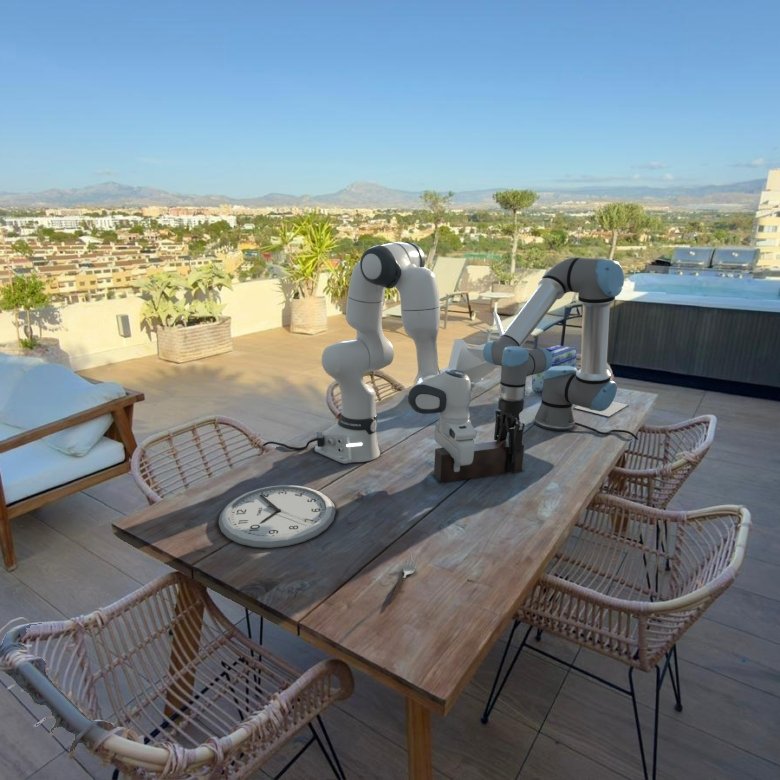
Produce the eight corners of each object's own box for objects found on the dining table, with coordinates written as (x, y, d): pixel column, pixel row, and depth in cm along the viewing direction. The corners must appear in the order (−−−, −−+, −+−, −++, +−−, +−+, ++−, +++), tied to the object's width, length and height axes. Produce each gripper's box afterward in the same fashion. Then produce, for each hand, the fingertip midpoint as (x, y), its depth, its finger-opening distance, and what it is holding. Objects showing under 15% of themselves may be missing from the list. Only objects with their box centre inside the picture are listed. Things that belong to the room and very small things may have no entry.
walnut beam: (513, 464, 170) (516, 438, 167) (521, 471, 165) (524, 444, 162) (433, 475, 161) (435, 448, 158) (440, 482, 157) (441, 455, 154)
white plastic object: (461, 429, 252) (437, 405, 227) (444, 352, 274) (420, 323, 250) (535, 404, 240) (518, 377, 215) (510, 326, 262) (492, 293, 237)
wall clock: (334, 539, 124) (204, 543, 122) (334, 545, 125) (205, 549, 122) (336, 480, 153) (231, 483, 150) (336, 485, 153) (231, 488, 151)
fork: (383, 605, 105) (383, 597, 105) (407, 560, 120) (408, 552, 119) (395, 608, 104) (395, 600, 104) (418, 562, 119) (419, 555, 118)
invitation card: (608, 416, 214) (573, 407, 224) (608, 416, 214) (573, 408, 224) (628, 404, 229) (594, 396, 238) (628, 405, 229) (594, 397, 238)
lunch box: (548, 398, 236) (553, 353, 229) (527, 393, 243) (531, 349, 237) (575, 387, 253) (581, 344, 247) (555, 382, 260) (560, 341, 254)
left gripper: (430, 413, 163) (428, 453, 168) (458, 437, 145) (456, 482, 149) (449, 411, 165) (446, 451, 169) (479, 435, 147) (476, 479, 151)
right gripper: (486, 390, 166) (481, 457, 173) (516, 408, 149) (509, 481, 156) (507, 388, 168) (501, 454, 175) (539, 406, 152) (531, 478, 159)
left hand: (451, 466), depth 159 cm, fingers closed on walnut beam, 5 cm apart
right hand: (505, 467), depth 166 cm, fingers closed on walnut beam, 5 cm apart
